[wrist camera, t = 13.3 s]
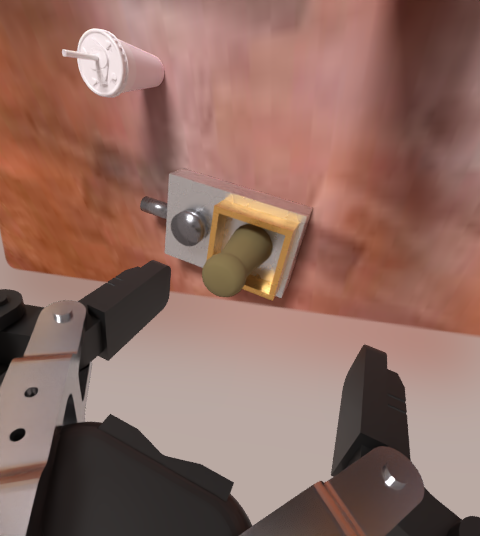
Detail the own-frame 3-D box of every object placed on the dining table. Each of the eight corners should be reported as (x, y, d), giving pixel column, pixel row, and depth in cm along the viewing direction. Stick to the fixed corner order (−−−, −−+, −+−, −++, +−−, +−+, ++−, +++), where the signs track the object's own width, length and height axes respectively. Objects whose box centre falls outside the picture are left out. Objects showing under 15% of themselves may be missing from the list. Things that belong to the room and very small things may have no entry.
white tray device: (155, 159, 48) (125, 167, 42) (312, 207, 42) (301, 224, 36) (153, 234, 55) (126, 250, 49) (288, 285, 49) (275, 309, 43)
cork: (224, 243, 45) (184, 279, 36) (248, 214, 41) (211, 246, 32) (254, 271, 45) (223, 314, 36) (281, 245, 42) (253, 285, 33)
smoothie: (166, 36, 39) (78, 10, 28) (177, 94, 42) (100, 91, 31) (127, 48, 42) (31, 27, 30) (140, 101, 44) (56, 101, 33)
